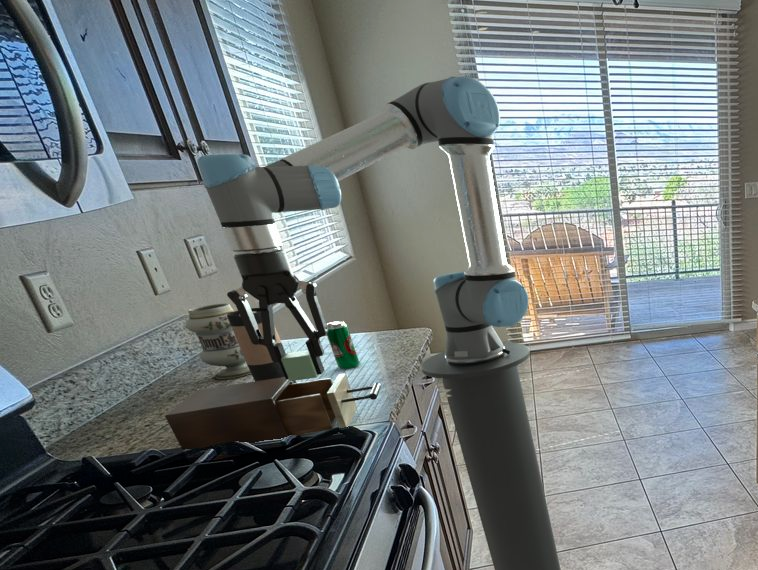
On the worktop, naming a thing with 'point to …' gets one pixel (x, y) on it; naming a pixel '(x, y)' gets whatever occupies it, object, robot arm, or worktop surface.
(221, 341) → the apothecary jar
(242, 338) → the travel mug
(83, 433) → the worktop surface
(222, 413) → the cabinet
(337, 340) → the soda can
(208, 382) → the worktop surface
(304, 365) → the block
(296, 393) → the drawer
